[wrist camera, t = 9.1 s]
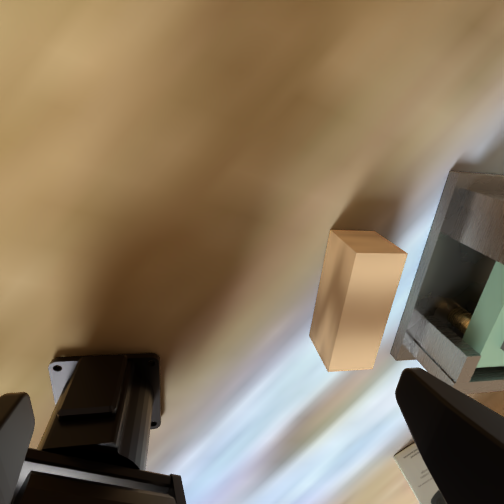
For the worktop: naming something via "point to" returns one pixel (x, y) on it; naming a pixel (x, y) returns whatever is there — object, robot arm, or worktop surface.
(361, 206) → the worktop surface
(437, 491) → the ink box
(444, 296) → the chassis
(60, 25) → the worktop surface
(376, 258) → the block
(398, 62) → the worktop surface
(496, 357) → the board
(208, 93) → the worktop surface
